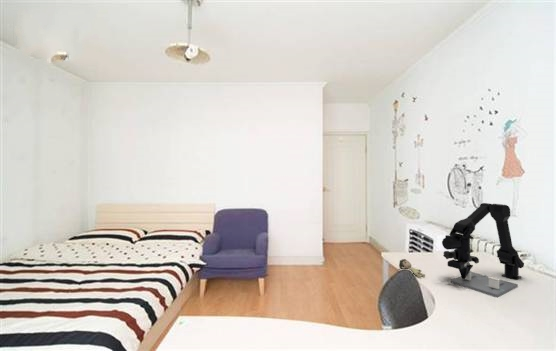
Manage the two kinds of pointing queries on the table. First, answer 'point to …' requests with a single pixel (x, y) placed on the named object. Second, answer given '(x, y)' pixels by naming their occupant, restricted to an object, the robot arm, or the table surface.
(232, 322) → the table surface
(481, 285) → the console
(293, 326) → the table surface
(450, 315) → the table surface
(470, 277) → the fader
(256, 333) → the table surface
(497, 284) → the fader
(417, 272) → the figurine
